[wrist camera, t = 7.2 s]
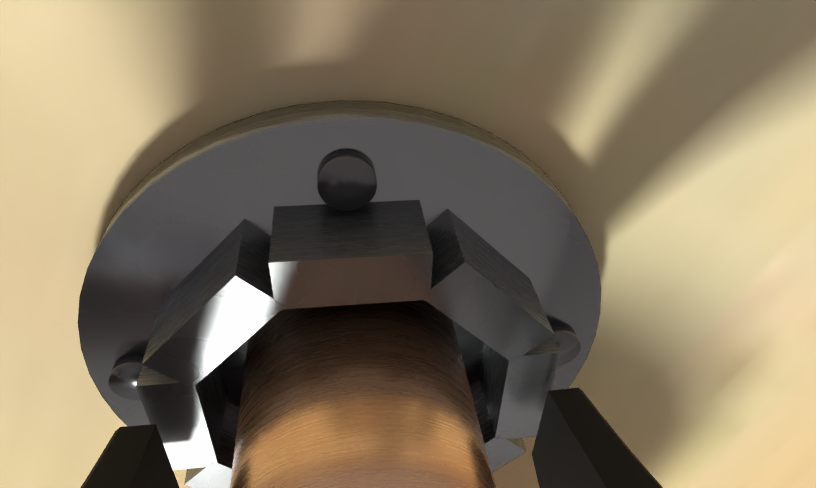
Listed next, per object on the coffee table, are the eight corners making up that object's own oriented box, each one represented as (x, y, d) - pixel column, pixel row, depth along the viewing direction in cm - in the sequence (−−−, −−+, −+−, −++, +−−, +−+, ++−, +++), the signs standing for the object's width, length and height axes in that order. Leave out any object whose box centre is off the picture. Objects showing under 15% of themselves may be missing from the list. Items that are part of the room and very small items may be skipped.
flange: (157, 486, 16) (136, 577, 15) (5, 110, 10) (-69, 187, 8) (545, 448, 18) (573, 527, 16) (641, 92, 11) (709, 154, 9)
